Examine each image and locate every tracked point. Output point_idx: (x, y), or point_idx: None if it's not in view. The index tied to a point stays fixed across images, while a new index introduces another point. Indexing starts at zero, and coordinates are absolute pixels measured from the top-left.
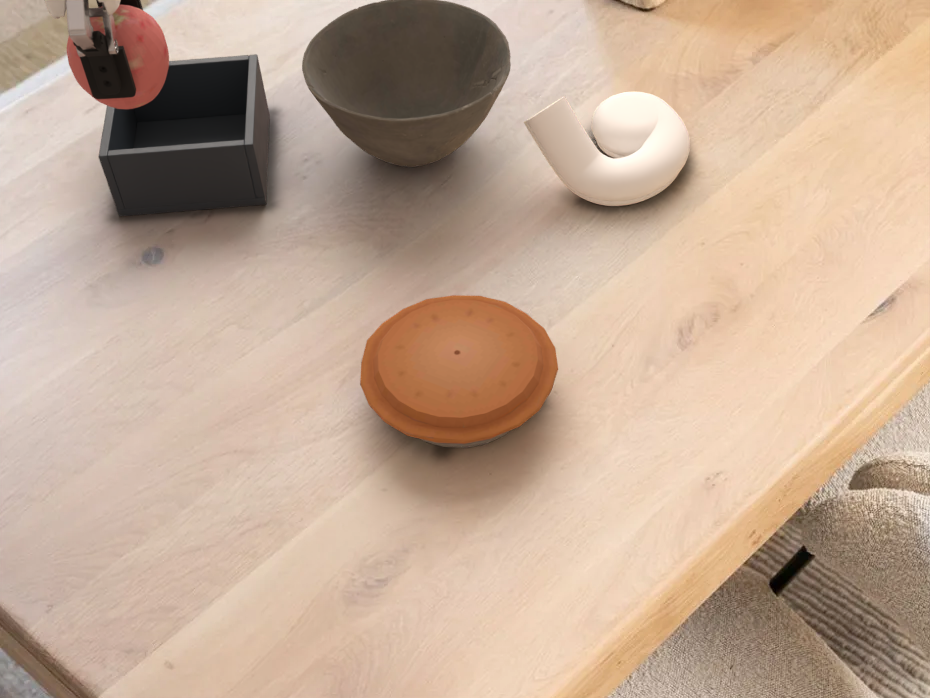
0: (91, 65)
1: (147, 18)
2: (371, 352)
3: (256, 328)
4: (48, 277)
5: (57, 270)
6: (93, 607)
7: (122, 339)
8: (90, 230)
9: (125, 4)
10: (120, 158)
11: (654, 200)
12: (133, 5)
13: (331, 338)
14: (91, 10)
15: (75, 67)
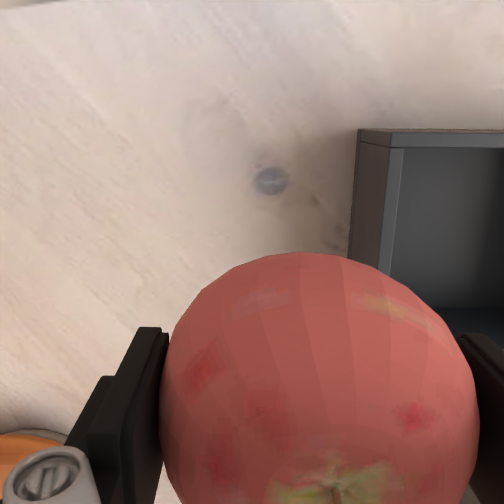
0: (65, 445)
1: None
2: (31, 450)
3: (136, 306)
4: (248, 36)
5: (261, 48)
6: None
7: (124, 153)
8: (337, 89)
9: (493, 475)
10: (385, 167)
11: None
12: (484, 491)
13: None
14: None
15: (205, 311)
